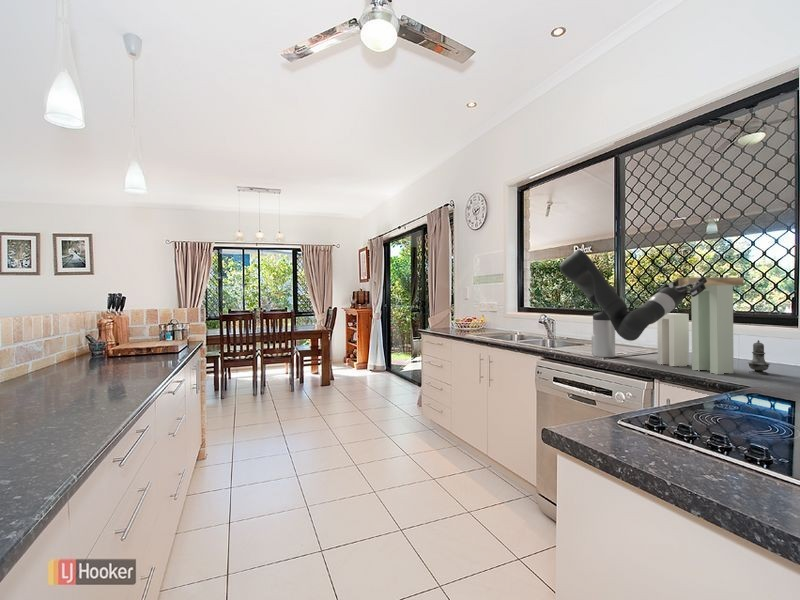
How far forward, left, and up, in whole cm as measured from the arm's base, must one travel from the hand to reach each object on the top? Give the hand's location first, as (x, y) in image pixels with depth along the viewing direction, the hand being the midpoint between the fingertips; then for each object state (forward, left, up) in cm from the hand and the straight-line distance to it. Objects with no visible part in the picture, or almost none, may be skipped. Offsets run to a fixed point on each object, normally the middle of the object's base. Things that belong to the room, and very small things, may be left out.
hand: (692, 279), depth 138 cm
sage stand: (0, +9, -34) cm, 36 cm away
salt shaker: (+7, +21, -35) cm, 41 cm away
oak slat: (0, +9, -2) cm, 10 cm away
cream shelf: (-15, +9, -34) cm, 39 cm away
